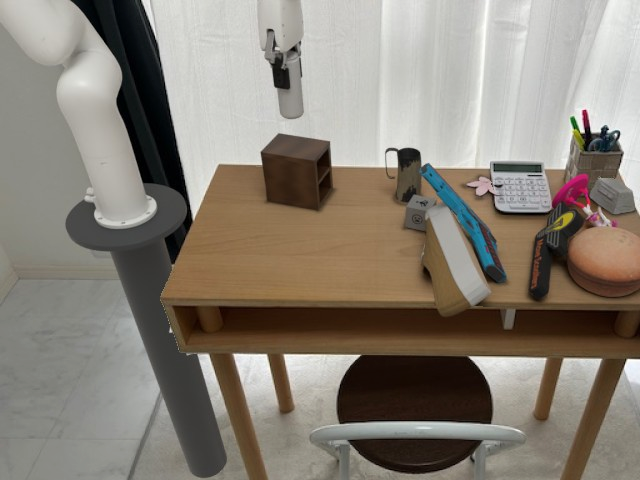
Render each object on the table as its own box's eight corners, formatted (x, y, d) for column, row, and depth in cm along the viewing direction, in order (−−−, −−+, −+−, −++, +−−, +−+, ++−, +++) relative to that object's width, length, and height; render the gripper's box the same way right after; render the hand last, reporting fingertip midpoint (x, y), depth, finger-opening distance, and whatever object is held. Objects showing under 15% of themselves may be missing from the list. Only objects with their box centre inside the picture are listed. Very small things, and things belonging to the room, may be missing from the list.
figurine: (557, 186, 127) (606, 237, 121) (592, 166, 129) (643, 215, 123) (547, 214, 135) (593, 263, 129) (580, 195, 138) (627, 242, 132)
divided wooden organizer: (267, 201, 136) (260, 151, 128) (284, 181, 142) (278, 132, 134) (318, 210, 133) (314, 160, 125) (333, 189, 140) (330, 141, 132)
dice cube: (428, 232, 128) (429, 211, 124) (405, 227, 129) (406, 206, 126) (435, 219, 131) (436, 199, 128) (413, 214, 133) (413, 194, 129)
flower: (494, 199, 135) (493, 205, 136) (517, 181, 141) (516, 187, 142) (457, 184, 139) (456, 190, 141) (481, 167, 146) (480, 173, 147)
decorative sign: (537, 215, 131) (578, 190, 125) (543, 222, 132) (584, 198, 126) (528, 293, 111) (576, 267, 105) (535, 301, 112) (583, 276, 106)
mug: (420, 191, 140) (422, 142, 132) (421, 204, 136) (423, 155, 128) (385, 191, 140) (385, 142, 132) (385, 204, 136) (385, 155, 128)
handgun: (498, 289, 116) (488, 242, 127) (511, 281, 114) (499, 235, 126) (421, 211, 104) (417, 167, 115) (434, 201, 103) (429, 158, 114)
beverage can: (277, 111, 126) (270, 51, 118) (301, 108, 127) (295, 49, 119) (282, 121, 122) (276, 60, 114) (306, 118, 124) (301, 57, 116)
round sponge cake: (572, 210, 121) (562, 255, 126) (572, 246, 108) (561, 294, 113) (656, 222, 118) (642, 267, 124) (665, 260, 105) (650, 309, 111)
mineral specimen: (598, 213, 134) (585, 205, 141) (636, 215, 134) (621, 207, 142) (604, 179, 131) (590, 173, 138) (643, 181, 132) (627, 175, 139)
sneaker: (439, 185, 122) (396, 211, 124) (475, 270, 100) (422, 300, 102) (461, 221, 128) (420, 245, 130) (500, 308, 106) (450, 336, 108)
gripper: (279, -33, 115) (288, 64, 127) (235, -9, 103) (251, 97, 115) (316, -30, 114) (322, 69, 126) (276, -4, 101) (288, 102, 113)
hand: (288, 81), depth 120 cm, fingers closed on beverage can, 4 cm apart
